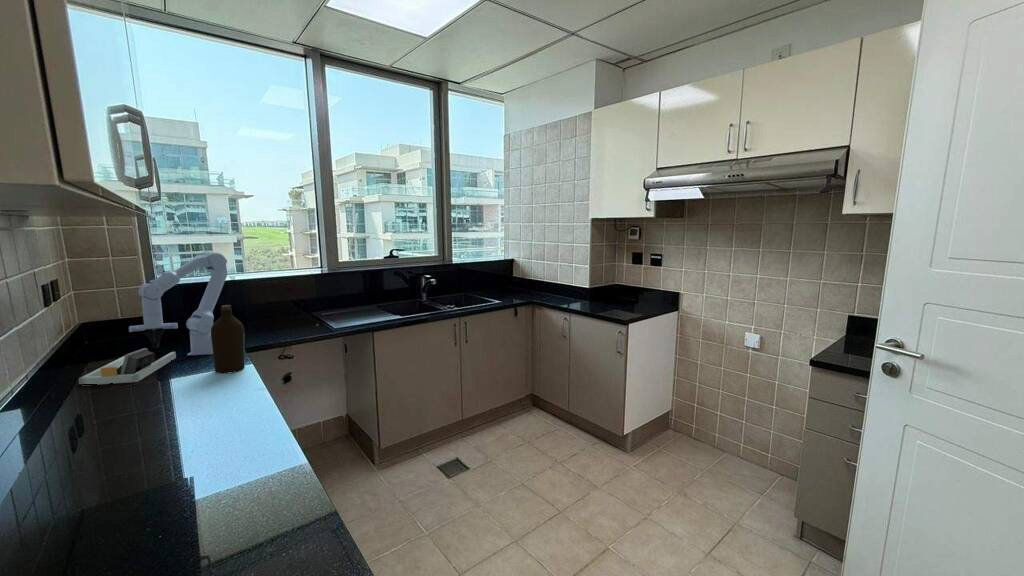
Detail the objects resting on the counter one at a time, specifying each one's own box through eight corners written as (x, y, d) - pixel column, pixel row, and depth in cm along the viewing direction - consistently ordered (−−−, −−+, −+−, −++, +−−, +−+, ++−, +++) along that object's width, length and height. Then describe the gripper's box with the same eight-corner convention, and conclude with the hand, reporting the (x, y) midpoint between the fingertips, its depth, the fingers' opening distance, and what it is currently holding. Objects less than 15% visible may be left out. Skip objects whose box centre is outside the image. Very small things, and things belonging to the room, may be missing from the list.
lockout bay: (175, 357, 172) (174, 344, 171) (137, 381, 145) (136, 366, 144) (128, 360, 167) (127, 347, 166) (79, 385, 140) (77, 369, 139)
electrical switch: (140, 371, 156) (140, 347, 155) (155, 372, 156) (155, 348, 155) (119, 379, 146) (119, 354, 145) (135, 381, 147) (135, 355, 146)
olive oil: (223, 376, 153) (219, 309, 150) (207, 371, 158) (202, 306, 154) (252, 368, 162) (249, 305, 159) (236, 363, 167) (232, 302, 164)
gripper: (177, 310, 171) (180, 342, 172) (130, 313, 163) (134, 347, 165) (174, 313, 165) (177, 347, 167) (126, 317, 157) (129, 351, 159)
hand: (155, 347), depth 165 cm, fingers closed
